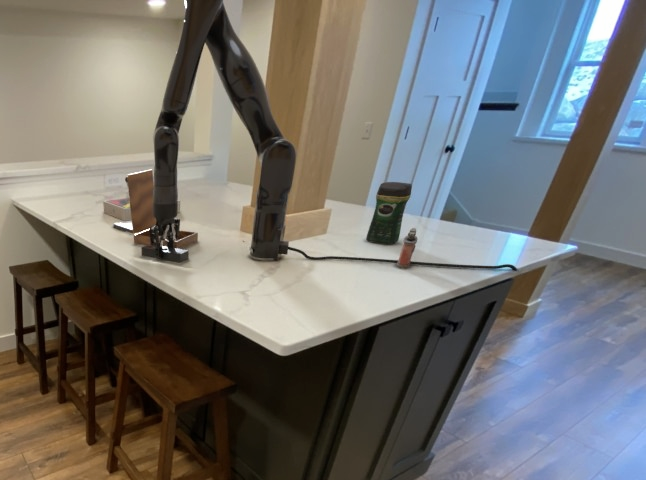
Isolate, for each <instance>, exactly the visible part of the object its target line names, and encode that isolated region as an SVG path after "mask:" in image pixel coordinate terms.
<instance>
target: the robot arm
mask: <svg viewBox="0 0 646 480" xmlns="http://www.w3.org/2000/svg"><path fill="white" fill-rule="evenodd" d="M184 6H185V10H184V19H183V25H182V29H181V30H182V31H181V35H180V39H179V43H178V47H177V50H176V54H175V55H174V56H175V57H174V61H173V63H172V66H171V69H170V72H169V75H168V80H167V82H166V87H165V90H164V94H163V99H162V104H161V109H160V112H159V115H158V118H157V121H156V124H155V128H154V131H153V134H152V135H153V136H152V142H153V152H154V153H153V155H154V156H153V157H154V166H153V176H154V188H153V217H154V218H156V224H155V226H153V227H152V226H150V228H149V231H150V242H151V246H155V256H156V258H155V259H157V258H158V259H157V260H162V259H161V258H163V247H162V245H163V241H164V240H165V239H166V236H167V239H168V242H167V247H171V248H174V242H175V241H176V238H178V237H179V230H181V229H180V228H181V219H180V218H177V217H178V213H177V211H178V200H179V191H178V190H179V189H178V159H179V148H180V147H179V146H180V137H179V132H180V129H181V126H182V122H183V118H184V116H185V115H186V112H187V110H188V107H189V105H190V100H191V97H192V94H193V90H194V87H195V82H196V78H197V75H198V74H197V73H198V70H199V66H200V62H201V58H202V53H203V50H204V48H205V45H206V47H207V49H208V52H209V54H210V56H211V60H212V62H213V65H214V67H215V71H216V73H217V76H218V77H219V80H220V83H221V84H222V87H223V89H224V92H225V94H226V95H227V97H228V100H229V102H230V103H231V105H232V108H233V109H234V111H235V113H236V114H237V116H238V118H239V119H240V121H241V122H242V124H243V126H244V127H245V129H246V130H247V133H248V134H249V136H250V138H251V141H252V144H253V147H254V149H255V153H256V155H257V158H258V162H259V165H260V175H259V184H258V187H257V190H256V195H255V196H256V197H255V205H254V212H253V213H254V215H253V222H252V233H251V240H250V241H251V242H250V247H249V249H248V250H249V258H250V259H252V260H256V261H259V262H260V261H261V262H272V261H273V262H274V261H275V262H277V261H279V259H280V258H281V257H282V255H288V253H289V251H292V252H296V253H299V254H301V255H302V256H303V257H304V258H306V259H308V260H313V261H322V260H323V261H324V260H345V261H361V262H363V261H364V262H375V263H376V262H378V263H388V264H389V263H391V264H397V261H398V260H397V259H385V258H373V257H370V258H369V257H357V256H356V257H355V256H353V257H352V256H339V255H338V256H334V255H328V256H327V255H326V256H318V257H317V256H309V255H308V254H307V253H306V252H305V251H303V250H301V249H298V248H295V247H291V246H289V245H290V242H289V241H288V240H287V241H286V240H284V239H285V233H286V226H287V225H286V224H285V223H286V216H287V208H288V202H289V197H290V196H289V195H290V192H291V190H292V186H293V182H294V181H293V180H294V175H295V170H296V163H297V150H296V147H295V145H294V144H293V143H292V142H291V141H289V140H288V139H286V137H285V136H284V134H283V133H282V131H281V129H280V127H279V126H278V123H277V122H276V120H275V118H274V115H273V112H272V109H271V105H270V100H269V96H268V91H267V88H266V86H265V83H264V79H263V78H262V75H261V73H260V70H259V69H258V66H257V63H256V62H255V60H254V57H252V55H251V53H250V51H249V50H248V49H247V47H246V45H245V44H244V43H243V41H242V40H241V39H240V37H239V36H238V34H237V33H236V31H235V29H234V27H233V25H232V22H231V20H230V18H229V16H228V12H227V10H226V7H225V3H224V0H184ZM175 230H176V234H175ZM159 235H161V236H159ZM154 239H155V242H154ZM159 239H160V243H159ZM410 265H415V266H416V265H417V266H428V267H444V268H459V269H460V268H461V269H483V270H484V269H487V270H498V269H504V268H509V269H511V270H512V271H516V272H517V271H518V268H517V267H516V266H515V265H513V264H509V263H508V264H507V263H506V264H500V265H479V264H475V265H474V264H454V263H441V262H439V263H437V262H423V261H412V260H410Z"/></svg>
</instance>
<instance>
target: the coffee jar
mask: <svg viewBox="0 0 646 480" xmlns="http://www.w3.org/2000/svg"><path fill="white" fill-rule="evenodd" d="M412 185H413V184H412V183H408V182H402V181H401V182H399V181H385V182H382V183H380V185H379V187H378V189H377V192H376V195H375V200H376V202H375V203H376V204H375V208H374V212H373V215H372V218H371V220H370V221H371V222H370V224H369V227H368V230H367V233H366V237H365V240H366V241H367V242H370V243H373V244H382V245H392V244H393V245H394V244H396V243H397V242H398V241H399V239H400V235H401V231H402V229H401V228H402V223H403V217H404V212H405V208H406V205H407V203H408V201H409V200H410V198H411V197H412V189H413V186H412Z"/></svg>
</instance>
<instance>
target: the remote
mask: <svg viewBox="0 0 646 480" xmlns="http://www.w3.org/2000/svg"><path fill="white" fill-rule="evenodd" d="M162 247H163V258H161V259H160V260H162V261H168V262H172V263H178V264H181V263H183V262H185V261H187V260H189V255H190V253H189V252H190V251H189V250H188V249H184V248H182V249H177V248H171V247H166V246H162ZM141 256H142V257H146V258H152V259H156V260H159V259H158V258H156V256H155V246H151V244H149V245H147V246H145V245H143V246H142V247H141Z"/></svg>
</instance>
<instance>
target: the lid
mask: <svg viewBox="0 0 646 480" xmlns="http://www.w3.org/2000/svg"><path fill="white" fill-rule="evenodd" d="M153 176H154V169H147V170H143V171H142V170H141V171H138V172H134V173H133V172H132V173H129V174H126V177H125V178H124V181H125V183H126V182H127V183H128V186H127V188H128V190H127V191H128V197H129V199H130V209H131V219H132V220H131V221H132V229H133V233H132V234H133V235H135V234H137V233H140V231H142V232H143V230H145V229H148V228H150V226H152V227H153V226H155V224H156V218H154V217H153V188H154V184H153Z"/></svg>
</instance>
